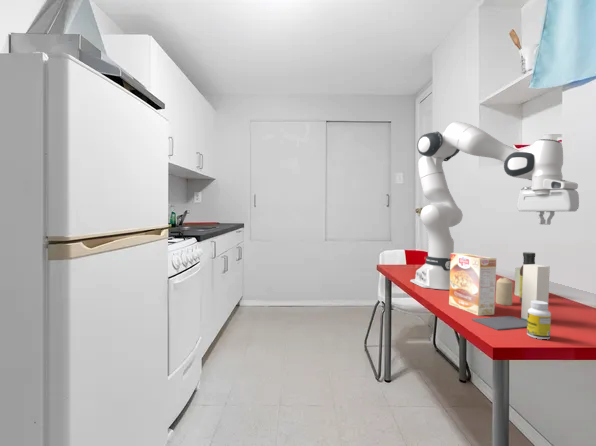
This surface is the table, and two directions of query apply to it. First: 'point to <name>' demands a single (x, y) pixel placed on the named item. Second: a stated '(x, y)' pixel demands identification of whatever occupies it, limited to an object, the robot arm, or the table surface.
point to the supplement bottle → (539, 320)
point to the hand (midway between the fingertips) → (544, 224)
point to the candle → (504, 291)
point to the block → (534, 286)
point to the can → (517, 281)
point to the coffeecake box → (472, 283)
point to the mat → (502, 322)
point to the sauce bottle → (528, 259)
